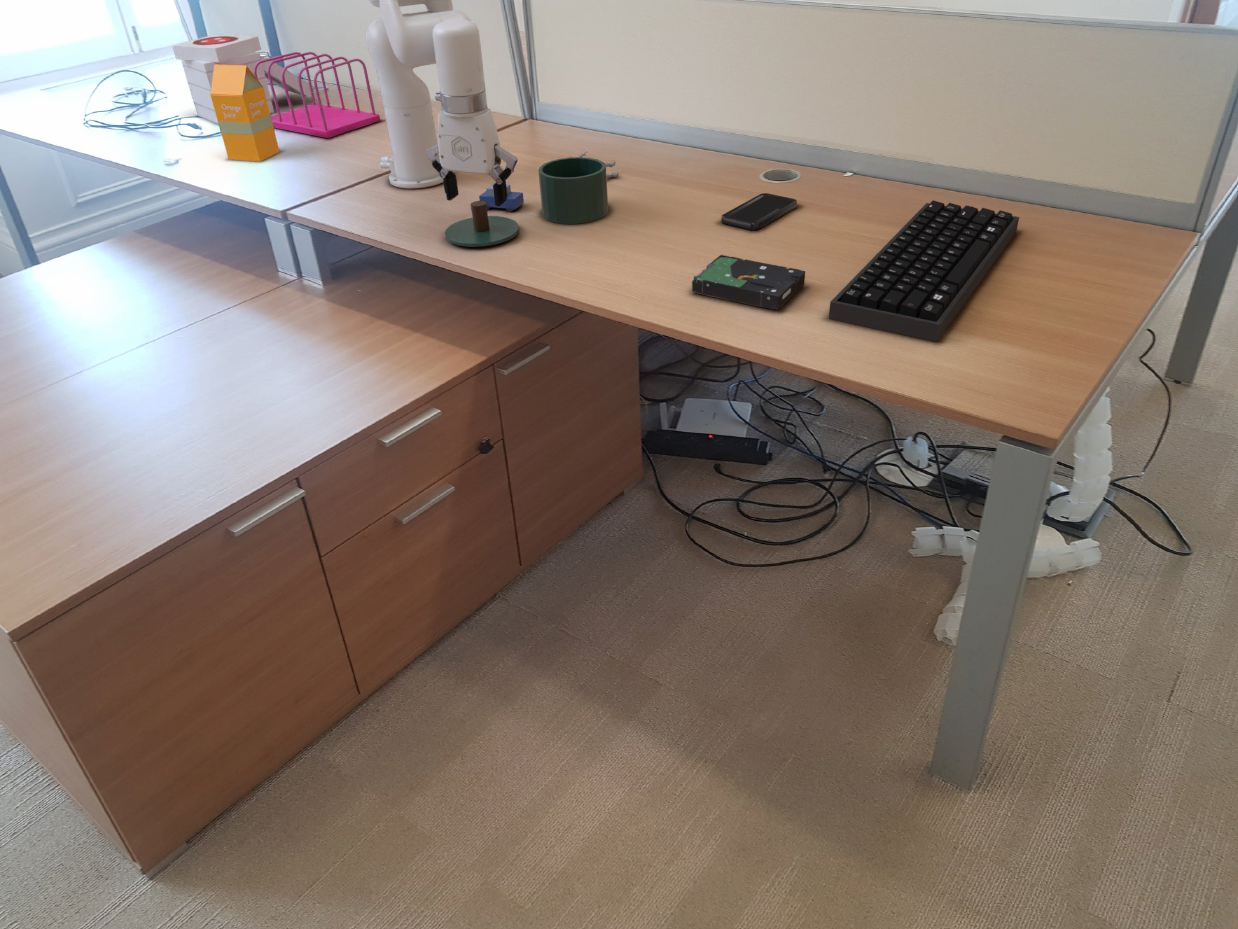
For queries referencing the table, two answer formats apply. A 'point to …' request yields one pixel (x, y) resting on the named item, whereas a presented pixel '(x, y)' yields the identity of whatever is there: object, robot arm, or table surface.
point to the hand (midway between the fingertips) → (476, 200)
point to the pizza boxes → (228, 50)
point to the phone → (759, 211)
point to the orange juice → (242, 113)
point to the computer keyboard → (926, 271)
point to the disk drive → (749, 282)
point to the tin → (573, 190)
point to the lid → (481, 228)
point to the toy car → (511, 202)
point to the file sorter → (319, 101)
